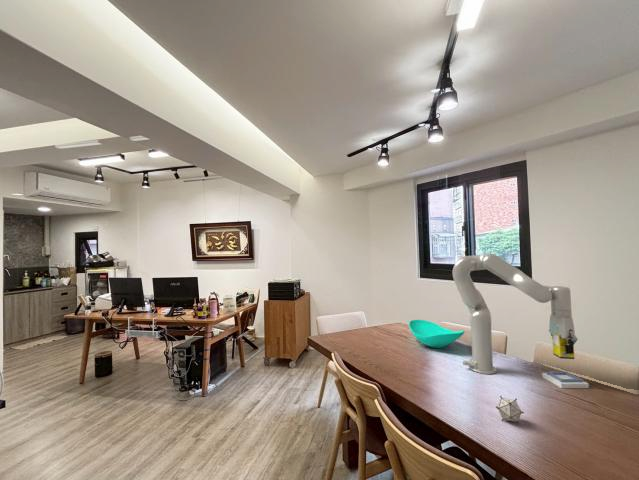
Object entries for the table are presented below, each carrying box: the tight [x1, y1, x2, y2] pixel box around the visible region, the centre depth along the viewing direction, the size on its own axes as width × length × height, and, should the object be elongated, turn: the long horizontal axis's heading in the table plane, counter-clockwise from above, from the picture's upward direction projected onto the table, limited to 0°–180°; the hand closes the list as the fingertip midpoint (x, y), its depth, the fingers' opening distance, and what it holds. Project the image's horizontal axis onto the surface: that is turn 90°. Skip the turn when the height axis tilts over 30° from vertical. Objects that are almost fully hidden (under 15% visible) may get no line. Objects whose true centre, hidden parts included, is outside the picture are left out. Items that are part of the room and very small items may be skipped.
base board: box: [541, 371, 590, 389], centre depth 142 cm, size 12×12×3 cm
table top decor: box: [408, 319, 465, 349], centre depth 199 cm, size 40×28×13 cm
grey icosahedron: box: [495, 395, 525, 425], centre depth 111 cm, size 9×8×10 cm
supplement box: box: [551, 334, 575, 360], centre depth 143 cm, size 6×6×11 cm
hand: (563, 350), depth 142 cm, fingers closed on supplement box, 6 cm apart
